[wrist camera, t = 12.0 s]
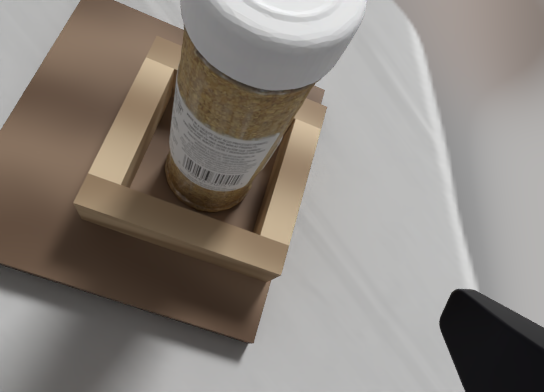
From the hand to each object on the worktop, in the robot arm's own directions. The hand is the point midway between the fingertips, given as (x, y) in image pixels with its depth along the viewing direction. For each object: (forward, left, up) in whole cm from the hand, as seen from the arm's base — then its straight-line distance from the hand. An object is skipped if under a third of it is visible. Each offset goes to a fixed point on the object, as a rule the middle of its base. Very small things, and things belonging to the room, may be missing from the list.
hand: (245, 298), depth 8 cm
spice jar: (+7, +2, -13) cm, 15 cm away
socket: (+8, +4, -14) cm, 16 cm away
